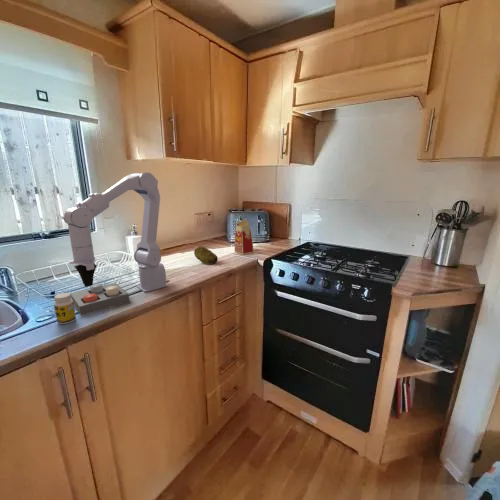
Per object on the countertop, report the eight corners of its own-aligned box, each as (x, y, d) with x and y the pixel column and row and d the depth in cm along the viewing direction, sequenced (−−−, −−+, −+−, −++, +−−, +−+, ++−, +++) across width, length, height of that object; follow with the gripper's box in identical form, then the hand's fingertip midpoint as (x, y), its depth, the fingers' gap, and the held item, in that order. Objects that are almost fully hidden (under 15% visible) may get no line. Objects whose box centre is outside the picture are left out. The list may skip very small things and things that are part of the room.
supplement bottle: (53, 324, 82) (48, 297, 80) (66, 316, 86) (61, 291, 84) (67, 325, 81) (63, 299, 79) (79, 317, 85) (75, 292, 83)
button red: (96, 301, 95) (95, 292, 94) (99, 304, 92) (98, 296, 91) (83, 304, 92) (81, 295, 91) (86, 308, 89) (84, 299, 89)
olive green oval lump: (206, 267, 134) (205, 251, 132) (192, 261, 144) (191, 246, 142) (219, 263, 140) (219, 248, 138) (205, 258, 149) (204, 244, 147)
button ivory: (117, 293, 99) (116, 284, 98) (121, 296, 96) (120, 288, 96) (105, 296, 97) (104, 287, 96) (108, 299, 94) (107, 291, 93)
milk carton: (245, 249, 168) (245, 217, 163) (254, 253, 160) (254, 219, 155) (232, 251, 163) (232, 218, 158) (241, 255, 156) (240, 220, 151)
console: (116, 290, 107) (115, 282, 106) (129, 301, 97) (128, 293, 96) (71, 301, 97) (70, 293, 96) (81, 315, 87) (79, 306, 86)
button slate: (102, 290, 101) (100, 282, 100) (105, 294, 98) (104, 285, 98) (89, 293, 99) (88, 285, 98) (92, 297, 96) (91, 288, 95)
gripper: (62, 243, 90) (69, 282, 93) (72, 252, 79) (79, 295, 83) (87, 240, 94) (92, 277, 98) (99, 248, 84) (105, 289, 87)
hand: (88, 285), depth 90 cm, fingers closed
